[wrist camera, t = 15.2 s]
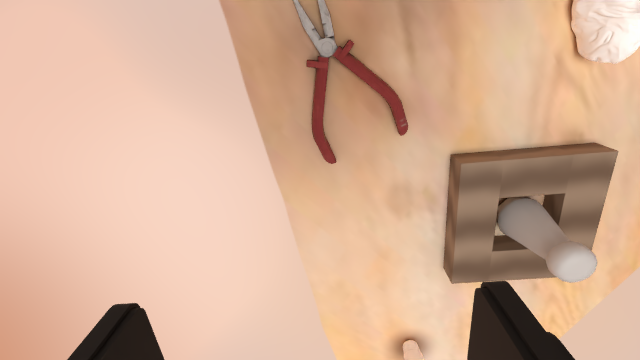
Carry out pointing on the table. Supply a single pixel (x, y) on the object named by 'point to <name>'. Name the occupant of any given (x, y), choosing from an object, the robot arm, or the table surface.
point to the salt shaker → (545, 239)
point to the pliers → (343, 55)
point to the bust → (606, 29)
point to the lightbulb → (412, 351)
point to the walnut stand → (515, 181)
